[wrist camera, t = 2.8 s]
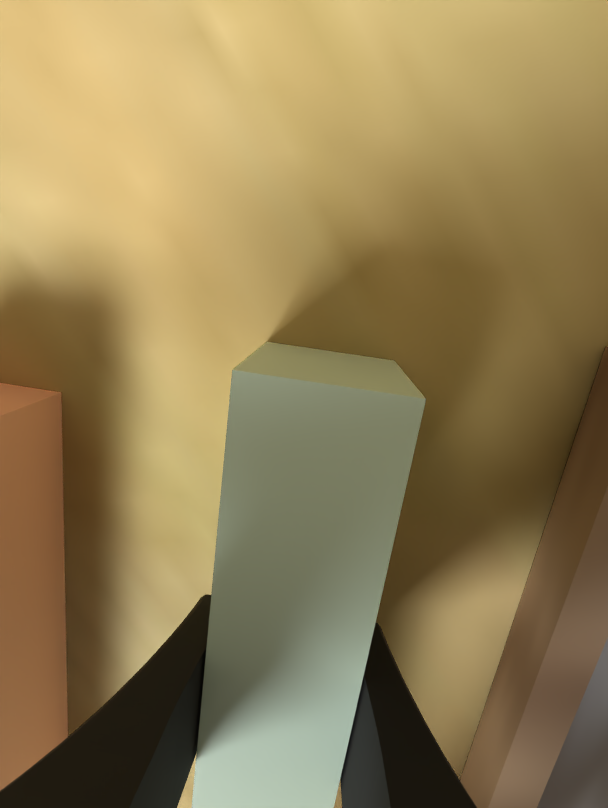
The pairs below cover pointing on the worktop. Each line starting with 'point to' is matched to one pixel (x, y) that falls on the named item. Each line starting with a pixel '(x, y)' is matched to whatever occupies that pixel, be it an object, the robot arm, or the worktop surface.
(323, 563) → the block
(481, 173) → the worktop surface
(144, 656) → the worktop surface
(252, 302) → the worktop surface
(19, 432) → the bar
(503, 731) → the cradle
